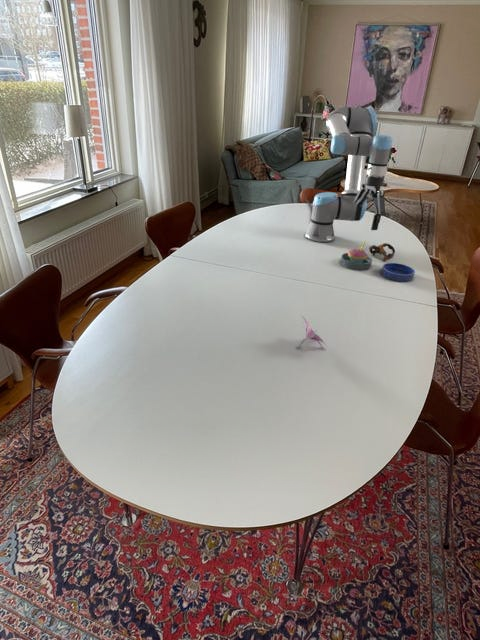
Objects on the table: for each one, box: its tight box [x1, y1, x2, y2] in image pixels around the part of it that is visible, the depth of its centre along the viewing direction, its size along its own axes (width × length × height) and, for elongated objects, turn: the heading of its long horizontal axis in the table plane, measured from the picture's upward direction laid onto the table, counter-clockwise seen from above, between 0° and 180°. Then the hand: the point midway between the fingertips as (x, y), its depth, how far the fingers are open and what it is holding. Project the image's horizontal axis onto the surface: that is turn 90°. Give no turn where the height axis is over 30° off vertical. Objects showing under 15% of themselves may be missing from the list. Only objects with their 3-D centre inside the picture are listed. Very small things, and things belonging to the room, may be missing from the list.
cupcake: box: [347, 240, 368, 263], centre depth 197 cm, size 9×8×12 cm
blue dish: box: [380, 262, 416, 282], centre depth 191 cm, size 14×14×3 cm
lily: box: [297, 314, 327, 349], centre depth 136 cm, size 12×12×10 cm
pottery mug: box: [368, 242, 396, 262], centre depth 208 cm, size 12×10×8 cm
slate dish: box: [340, 252, 373, 271], centre depth 200 cm, size 14×14×3 cm
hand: (365, 225), depth 191 cm, fingers open, 13 cm apart
